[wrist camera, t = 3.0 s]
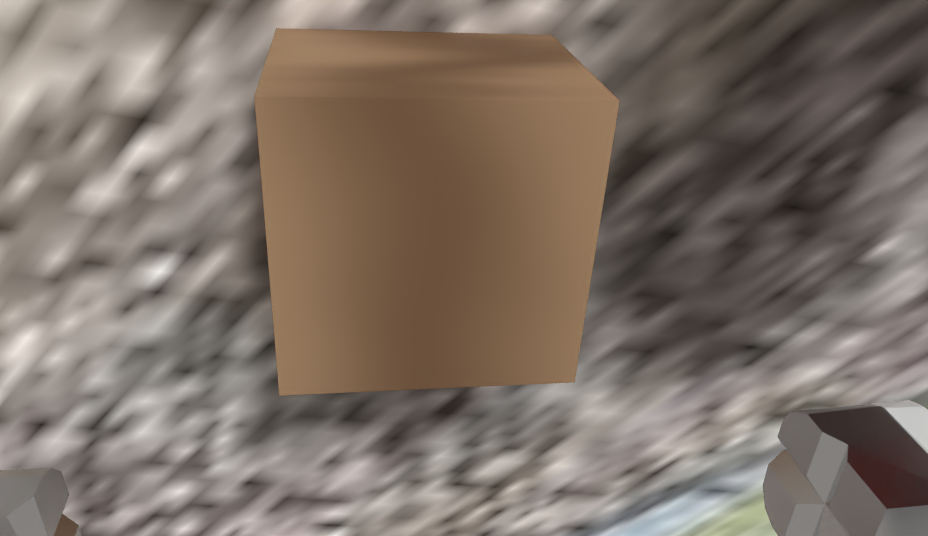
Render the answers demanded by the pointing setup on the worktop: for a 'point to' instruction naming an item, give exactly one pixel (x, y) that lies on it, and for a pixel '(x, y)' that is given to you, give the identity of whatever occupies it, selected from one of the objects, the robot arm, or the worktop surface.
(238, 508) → the worktop surface
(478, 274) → the walnut block
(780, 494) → the robot arm
